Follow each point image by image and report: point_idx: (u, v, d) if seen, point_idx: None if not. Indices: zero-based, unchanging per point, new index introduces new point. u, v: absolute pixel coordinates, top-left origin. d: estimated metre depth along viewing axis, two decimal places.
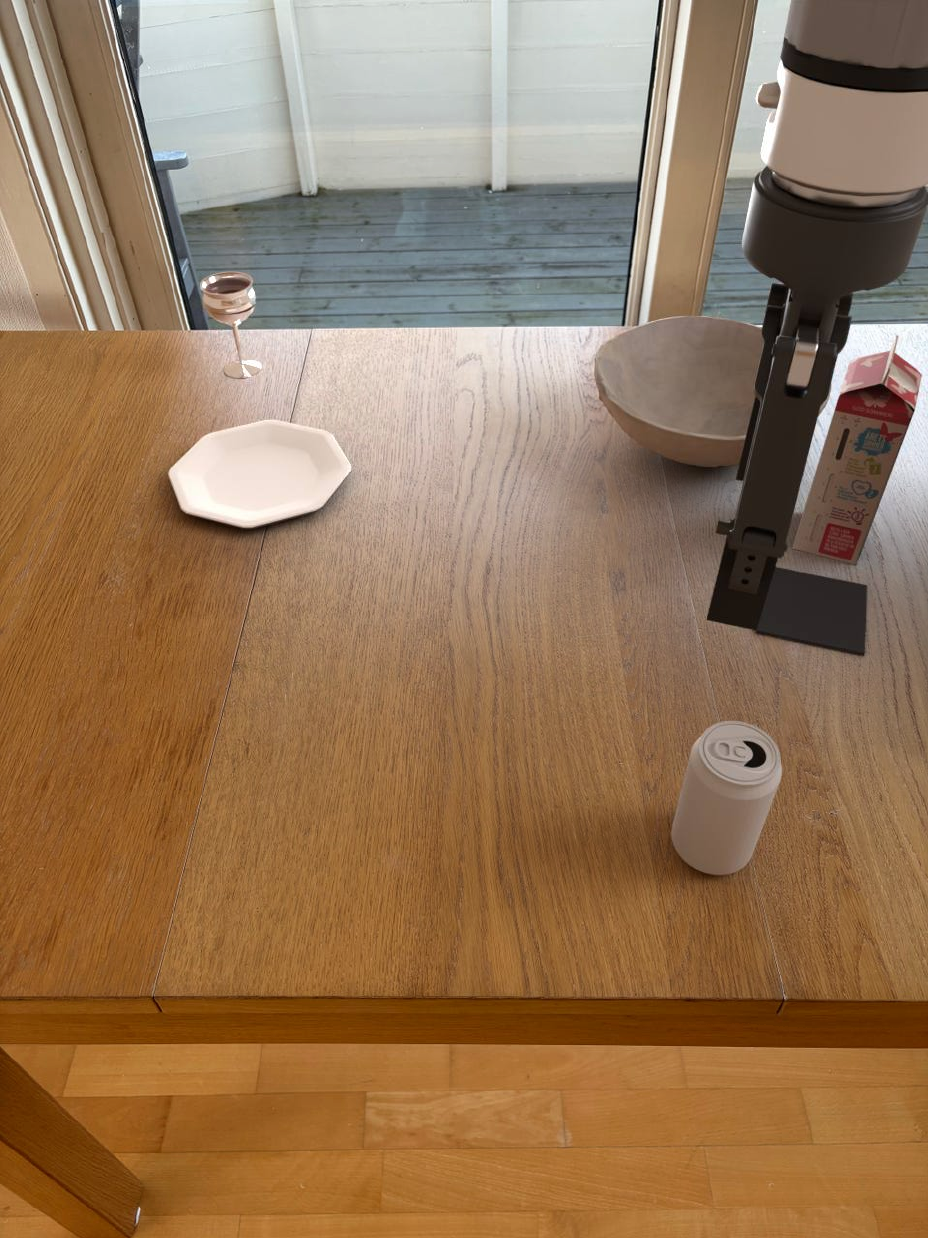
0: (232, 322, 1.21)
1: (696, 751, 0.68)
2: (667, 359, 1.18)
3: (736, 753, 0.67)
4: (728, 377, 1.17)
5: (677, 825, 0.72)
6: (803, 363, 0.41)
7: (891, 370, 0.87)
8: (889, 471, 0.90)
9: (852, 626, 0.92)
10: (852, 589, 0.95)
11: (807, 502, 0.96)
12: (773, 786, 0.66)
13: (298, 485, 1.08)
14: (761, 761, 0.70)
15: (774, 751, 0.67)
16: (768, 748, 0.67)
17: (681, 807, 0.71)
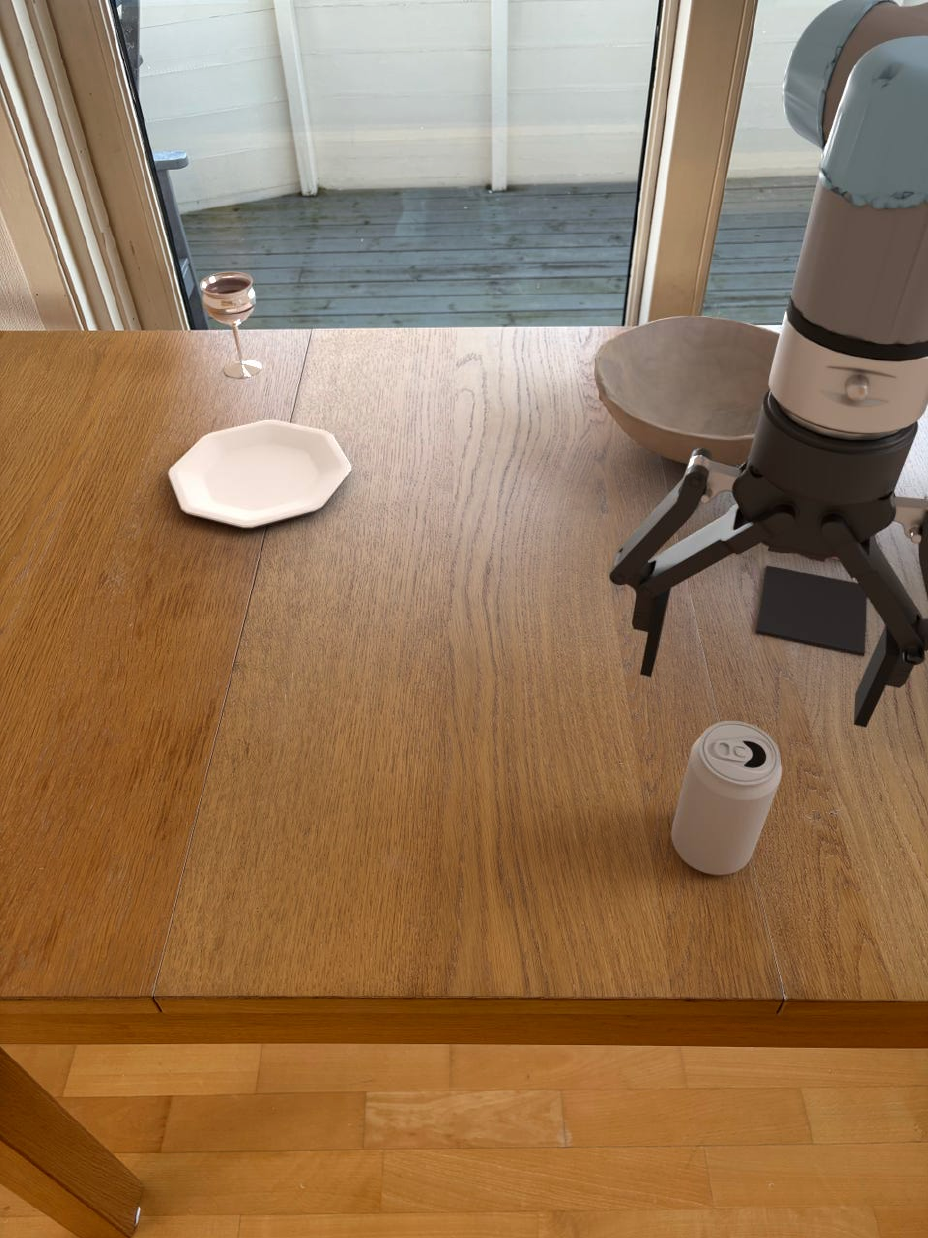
0: (232, 322, 1.21)
1: (696, 751, 0.68)
2: (667, 359, 1.18)
3: (736, 753, 0.67)
4: (728, 377, 1.17)
5: (677, 825, 0.72)
6: None
7: None
8: None
9: (852, 626, 0.92)
10: (852, 589, 0.95)
11: None
12: (773, 786, 0.66)
13: (298, 485, 1.08)
14: (761, 761, 0.70)
15: (774, 751, 0.67)
16: (768, 748, 0.67)
17: (681, 807, 0.71)
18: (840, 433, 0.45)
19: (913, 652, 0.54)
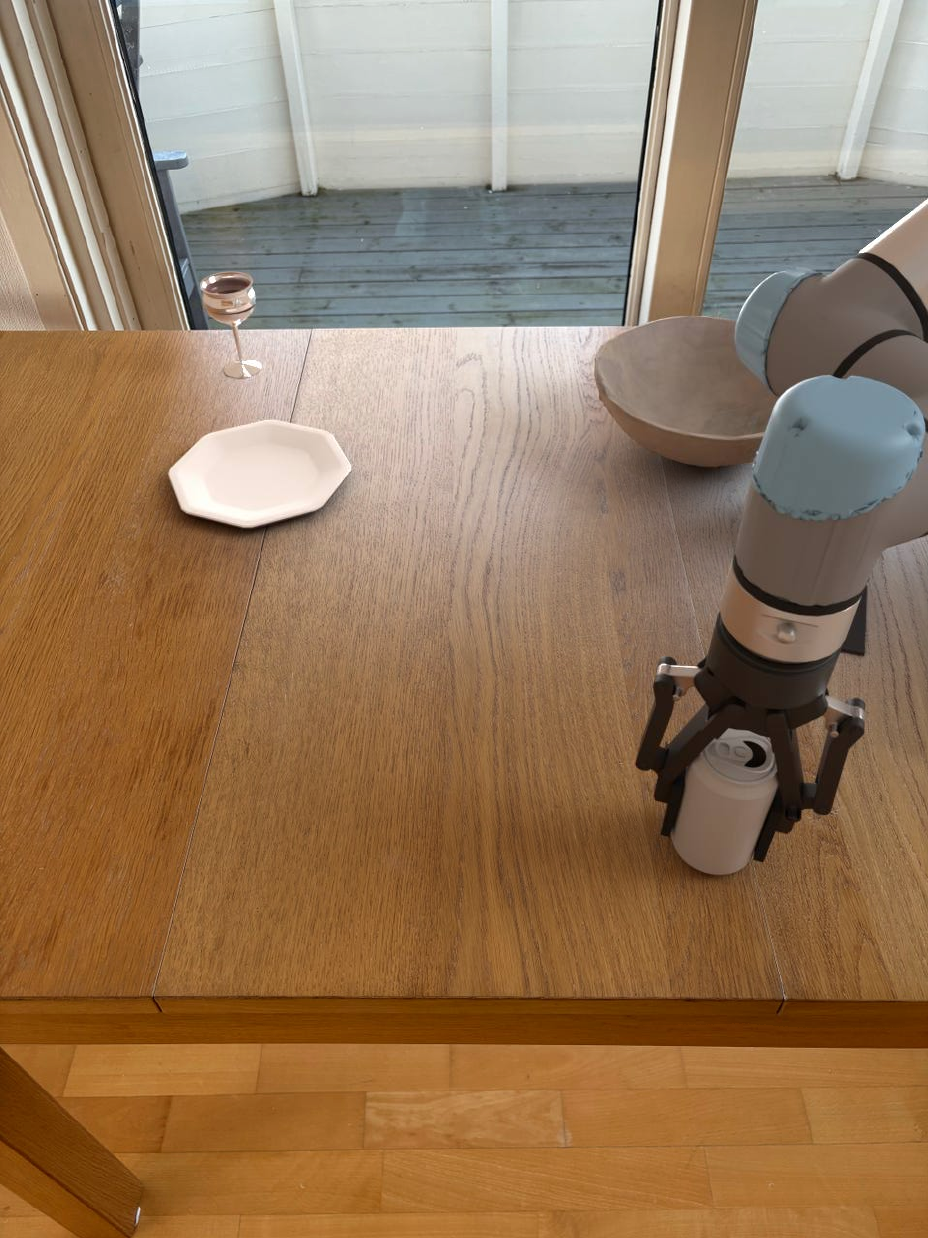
0: (232, 322, 1.21)
1: None
2: (667, 359, 1.18)
3: (736, 753, 0.67)
4: (728, 377, 1.17)
5: (677, 825, 0.72)
6: None
7: None
8: None
9: (852, 626, 0.92)
10: None
11: None
12: (774, 786, 0.66)
13: (298, 485, 1.08)
14: (762, 761, 0.70)
15: None
16: (768, 748, 0.67)
17: (681, 807, 0.71)
18: None
19: (792, 812, 0.67)
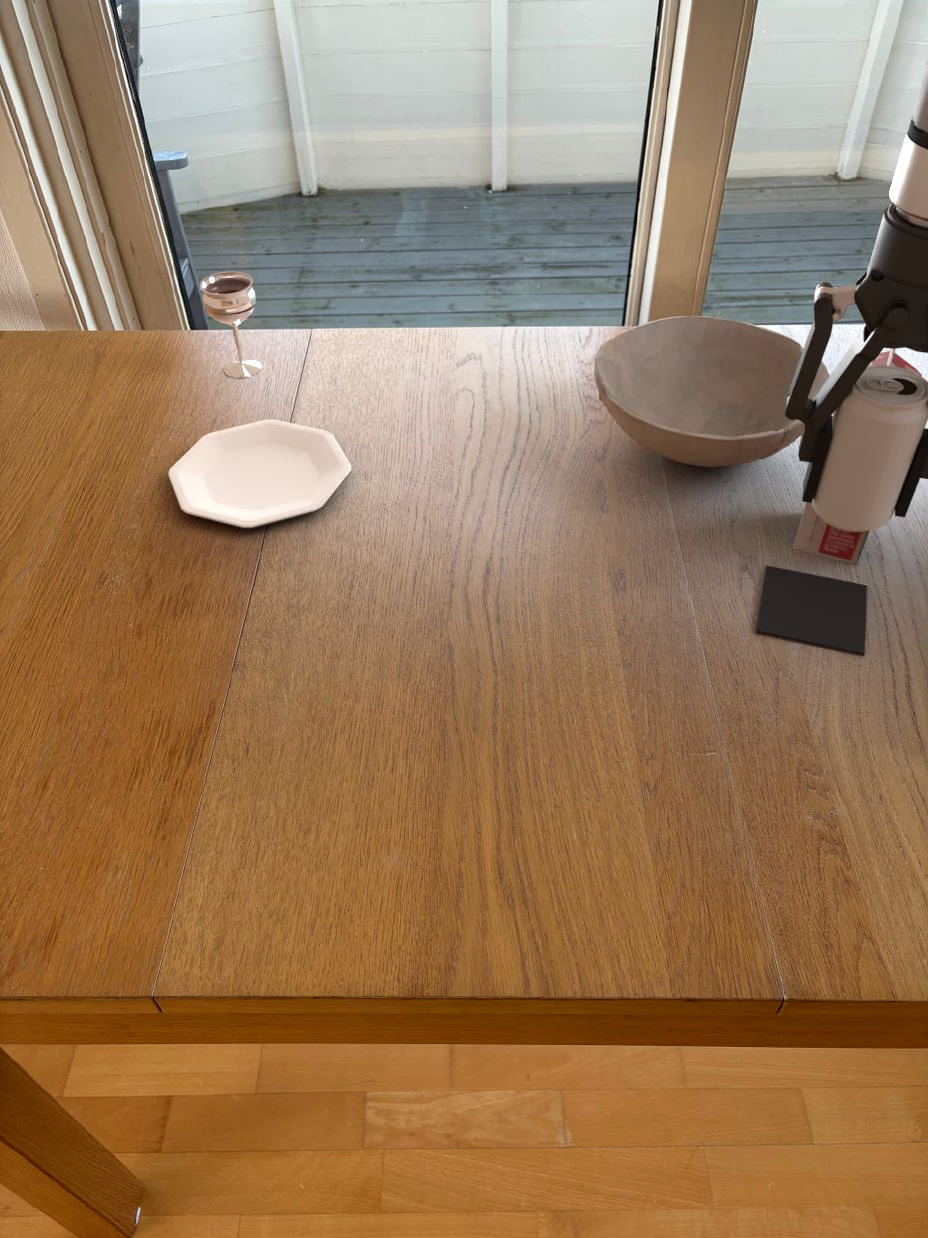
0: (232, 322, 1.21)
1: None
2: (667, 359, 1.18)
3: (887, 386, 0.69)
4: (728, 377, 1.17)
5: (821, 484, 0.75)
6: None
7: None
8: None
9: (852, 626, 0.92)
10: (852, 589, 0.95)
11: (807, 502, 0.96)
12: (926, 412, 0.69)
13: (298, 485, 1.08)
14: None
15: (924, 383, 0.69)
16: (917, 382, 0.70)
17: (827, 460, 0.74)
18: None
19: None
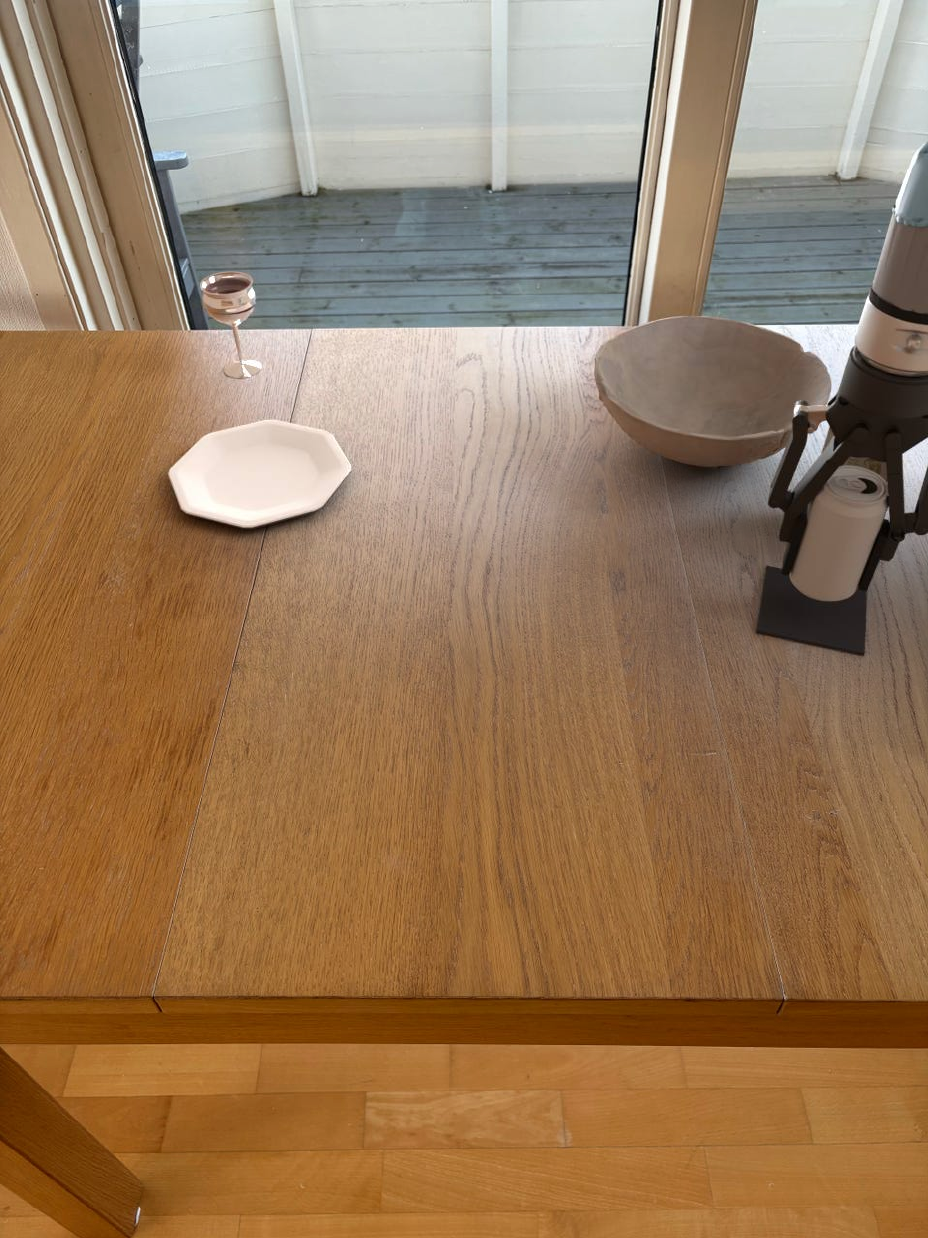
0: (232, 322, 1.21)
1: None
2: (667, 359, 1.18)
3: (853, 485, 0.83)
4: (728, 377, 1.17)
5: (797, 561, 0.89)
6: None
7: None
8: None
9: (852, 626, 0.92)
10: None
11: None
12: (884, 508, 0.82)
13: (298, 485, 1.08)
14: None
15: (883, 484, 0.83)
16: (878, 482, 0.84)
17: (802, 542, 0.87)
18: (902, 372, 0.72)
19: (897, 534, 0.84)
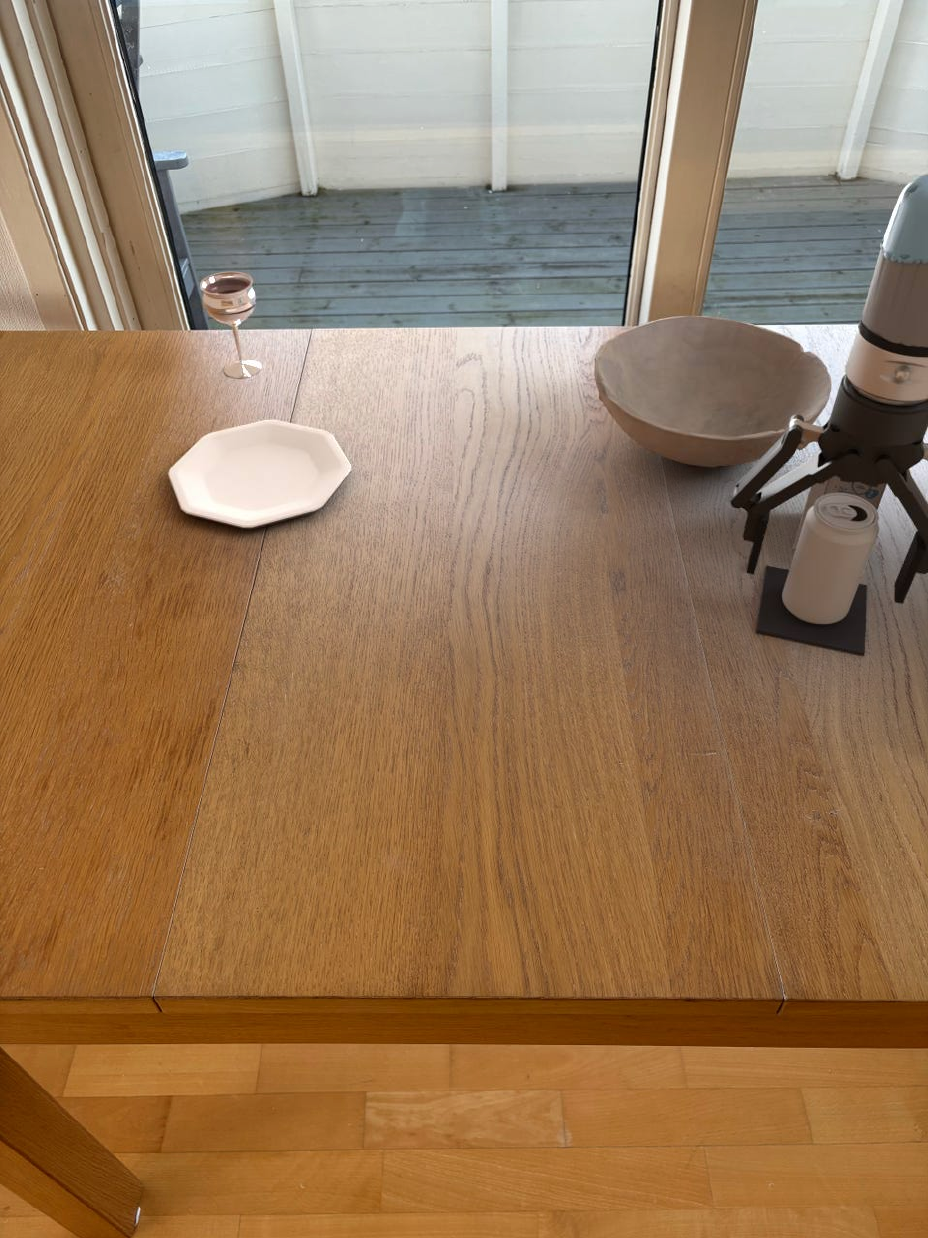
0: (232, 322, 1.21)
1: (811, 513, 0.86)
2: (667, 359, 1.18)
3: (843, 512, 0.85)
4: (728, 377, 1.17)
5: (790, 585, 0.91)
6: None
7: None
8: None
9: (852, 626, 0.92)
10: None
11: (807, 502, 0.96)
12: (874, 535, 0.84)
13: (298, 485, 1.08)
14: None
15: (873, 511, 0.85)
16: (868, 509, 0.86)
17: (795, 566, 0.90)
18: (891, 401, 0.74)
19: None
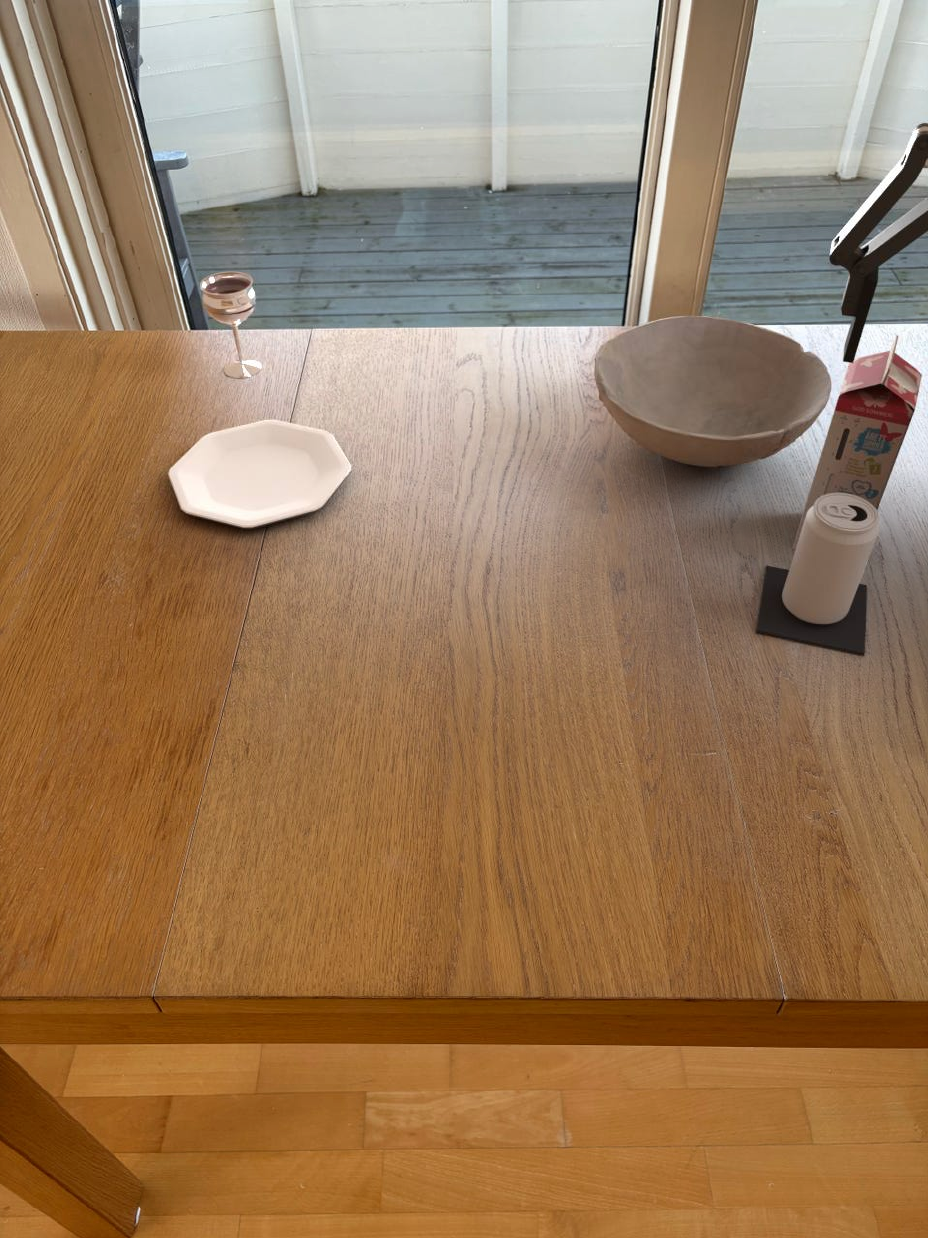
0: (232, 322, 1.21)
1: (811, 513, 0.86)
2: (667, 359, 1.18)
3: (843, 512, 0.85)
4: (728, 377, 1.17)
5: (790, 585, 0.91)
6: None
7: (891, 370, 0.87)
8: (889, 471, 0.90)
9: (852, 626, 0.92)
10: None
11: (807, 502, 0.96)
12: (874, 535, 0.84)
13: (298, 485, 1.08)
14: None
15: (873, 511, 0.85)
16: (868, 509, 0.86)
17: (795, 566, 0.90)
18: None
19: None
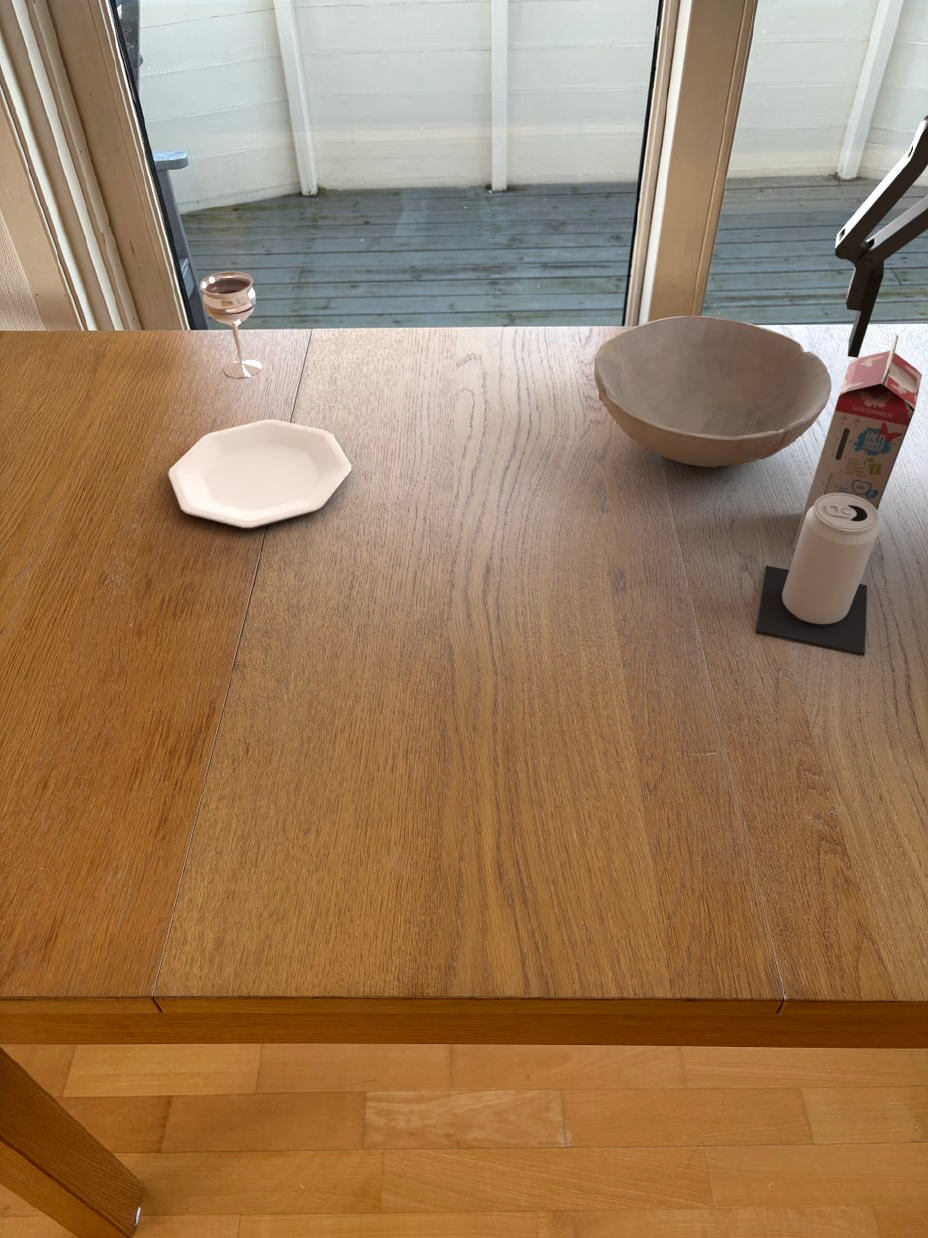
0: (232, 322, 1.21)
1: (811, 513, 0.86)
2: (667, 359, 1.18)
3: (843, 512, 0.85)
4: (728, 377, 1.17)
5: (790, 585, 0.91)
6: None
7: (891, 370, 0.87)
8: (889, 471, 0.90)
9: (852, 626, 0.92)
10: None
11: (807, 502, 0.96)
12: (874, 535, 0.84)
13: (298, 485, 1.08)
14: None
15: (873, 511, 0.85)
16: (868, 509, 0.86)
17: (795, 566, 0.90)
18: None
19: None
